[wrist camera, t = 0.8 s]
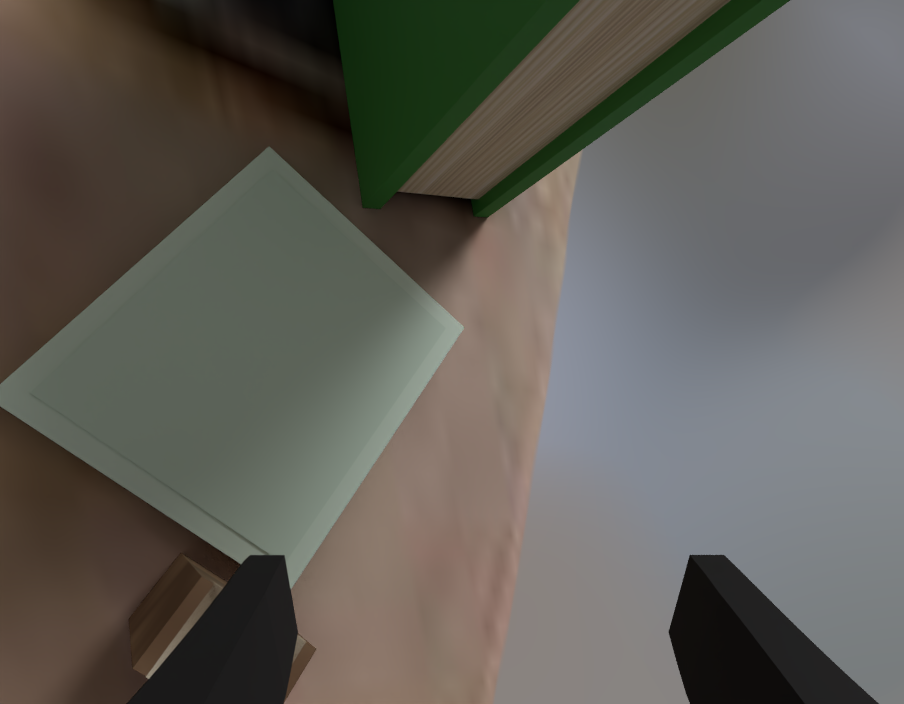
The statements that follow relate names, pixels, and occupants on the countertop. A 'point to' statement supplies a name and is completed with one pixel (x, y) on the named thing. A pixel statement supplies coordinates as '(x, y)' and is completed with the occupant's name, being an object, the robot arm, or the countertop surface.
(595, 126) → the hardback book
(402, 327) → the tray
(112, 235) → the countertop surface
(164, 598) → the walnut block
